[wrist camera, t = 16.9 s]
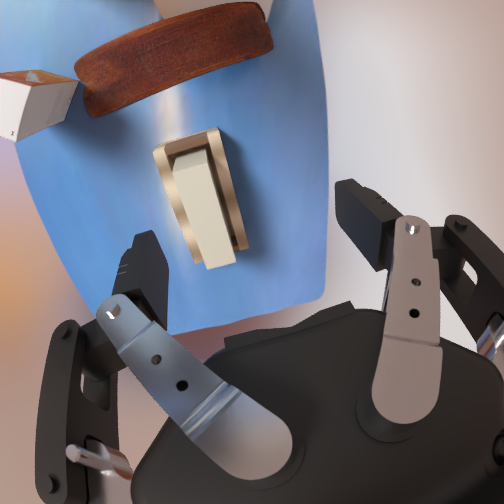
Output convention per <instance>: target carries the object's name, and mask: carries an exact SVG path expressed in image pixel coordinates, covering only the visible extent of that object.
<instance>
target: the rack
mask: <svg viewBox="0 0 504 504" xmlns="http://www.w3.org/2000/svg"><path fill="white" fill-rule="evenodd" d="M204 146H205V147H206V151H207V154H208V158H209V161H210V165H211V169H212V172H213V176H214V179H215V183H216V186H217V190H218V193H219V197H220V200H221V204H222V207H223V211H224V214H225V218H226V221H227V225H228V228H229V232H230V236H231V241H232V245H233V249H234V252H238V251H241V250H245V249H248V248H249V244H248V240H247V237H246V233H245V229H244V225H243V221H242V218H241V214H240V210H239V206H238V202H237V199H236V195H235V191H234V187H233V183H232V179H231V176H230V172H229V168H228V164H227V160H226V157H225V153H224V149H223V145H222V141H221V137H220V134H219V131H218V128H217V127H215V128H211V129H208V130H204V131H201V132H197V133H194V134H190V135H187V136H184V137H181V138H178V139H175V140H171V141H168V142H165V143H163V144H160V145H157V146H156V148H155V149H154V151H153V155H154V158H155V161H156V164H157V167H158V170H159V172H160V175H161V178H162V181H163V183H164V186H165V189H166V191H167V194H168V197H169V199H170V202H171V205H172V207H173V210H174V213H175V215H176V218H177V220H178V223H179V225H180V228H181V230H182V233H183V235H184V238H185V240H186V243H187V245H188V248H189V250H190V252H191V255H192V257H193V260H194V262H195V263H198V262H202V261H204V260H203V257H202V255H201V252H200V249H199V247H198V244H197V241H196V239H195V236H194V233H193V231H192V228H191V225H190V223H189V220H188V217H187V214H186V212H185V209H184V206H183V203H182V200H181V197H180V195H179V192H178V189H177V186H176V183H175V180H174V177H173V174H172V171H173V167H174V163H175V160H176V156H177V154H180V153H183V152H187V151H190V150H193V149H197V148H200V147H204Z"/></svg>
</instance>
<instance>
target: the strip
mask: <svg viewBox="0 0 504 504" xmlns="http://www.w3.org/2000/svg"><path fill="white" fill-rule="evenodd" d="M172 174H173V177H174V180H175V183H176V186H177V189H178V192H179V195H180V197H181V200H182V203H183V206H184V209H185V212H186V214H187V217H188V220H189V223H190V225H191V228H192V231H193V233H194V236H195V239H196V241H197V244H198V247H199V249H200V252H201V255H202V257H203V260H204V262H205V265H206V268H207V270H209V269H212V268H216V267H220V266H223V265H227V264H231V263H234V262H236V258H235V254H234V249H233V245H232V241H231V236H230V232H229V228H228V225H227V221H226V218H225V214H224V211H223V207H222V204H221V200H220V197H219V193H218V190H217V186H216V183H215V179H214V176H213V172H212V169H211V165H210V161H209V158H208V154H207V151H206V147H205V146H204V147H200V148H197V149H193V150H190V151H187V152H183V153H180V154H177V156H176V160H175V163H174V167H173V171H172Z"/></svg>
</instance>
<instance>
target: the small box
mask: <svg viewBox="0 0 504 504" xmlns="http://www.w3.org/2000/svg"><path fill="white" fill-rule="evenodd" d="M78 82H79V81H78V80H74V79H70V78H66V77H63V76H59V75H56V74H52V73H49V72H45V71H42V70H28V71H16V72H6V73H0V137H2V138H5V139H8V140H11V141H14V142H18V141H20V140H22V139H24V138H26V137H28V136H30V135H32V134H34V133H36V132H39V131H41V130H43V129H45V128H47V127H50V126H52V125H55V124H57V123H59V122H62V121H64V119H65V116H66V114H67V111H68V108H69V105H70V102H71V100H72V97H73V95H74V92H75V90H76V87H77V85H78Z"/></svg>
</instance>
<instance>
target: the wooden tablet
mask: <svg viewBox="0 0 504 504" xmlns="http://www.w3.org/2000/svg"><path fill="white" fill-rule="evenodd" d="M272 49H273V41H272V38H271V34H270V29H269V27H268V25H267V23H266V18H265V14H264V12H263V10H262V8H261V7H260V5H259V4H258V3H257V2H234V3H226V4H221V5H216V6H213V7H208V8H205V9H200V10H196V11H193V12H189V13H185V14H182V15H178V16H175V17H172V18H169V19H165V20H162V21H159V22H156V23H153V24H150V25H148V26H145V27H142V28H139V29H137V30H134V31H132V32H129V33H127V34H125V35H122V36H120V37H118V38H116V39H114V40H112V41H110V42H108V43H106V44H104V45H102V46H100V47H98V48H96V49H94V50H92V51H91V52H89V53H87V54H86V55H84V56H83V57H81V58H80V59H79V60H78V61H77V62H76V63H75V65H74V70H75V73H76V74H77V76H78V78H79V79H80V81H82V82H84V83H86V86H85V89H84V102H85V107H86V110H87V112H88V114H89V115H90V116H92V117H93V118H96V117H99V116H102V115H104V114H107V113H109V112H112V111H114V110H117V109H119V108H121V107H123V106H126V105H128V104H131V103H133V102H135V101H138V100H140V99H142V98H145V97H147V96H149V95H151V94H154V93H156V92H158V91H161V90H163V89H166V88H168V87H171V86H173V85H175V84H178V83H180V82H183V81H185V80H188V79H190V78H193V77H196V76H199V75H201V74H204V73H207V72H210V71H213V70H215V69H218V68H221V67H224V66H227V65H230V64H234V63H237V62H240V61H242V60H244V59H250V58H253V57H256V56H259V55H262V54H264V53H267V52H269V51H270V50H272Z"/></svg>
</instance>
